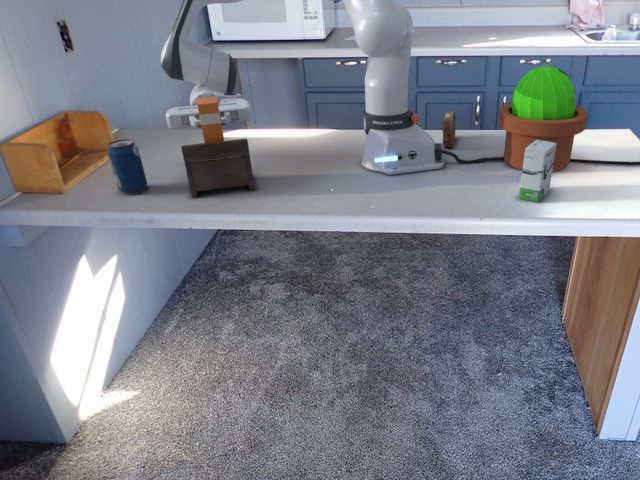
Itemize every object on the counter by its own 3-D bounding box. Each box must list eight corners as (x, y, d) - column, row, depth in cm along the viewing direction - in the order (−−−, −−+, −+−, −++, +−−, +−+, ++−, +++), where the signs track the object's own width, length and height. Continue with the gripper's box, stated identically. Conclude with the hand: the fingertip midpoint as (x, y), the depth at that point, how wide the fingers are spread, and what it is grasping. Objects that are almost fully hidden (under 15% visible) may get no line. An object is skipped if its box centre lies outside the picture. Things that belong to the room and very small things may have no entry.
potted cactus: (490, 172, 142) (499, 70, 129) (499, 146, 160) (508, 55, 146) (578, 179, 136) (598, 74, 123) (578, 151, 154) (594, 57, 141)
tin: (451, 151, 157) (452, 121, 152) (440, 150, 158) (441, 121, 153) (455, 135, 169) (457, 108, 165) (445, 135, 170) (446, 107, 166)
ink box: (538, 203, 124) (545, 152, 118) (517, 198, 127) (523, 148, 120) (550, 190, 131) (557, 141, 124) (530, 186, 133) (536, 138, 127)
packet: (224, 142, 135) (216, 96, 130) (225, 149, 130) (217, 102, 125) (205, 144, 134) (196, 98, 128) (206, 151, 129) (197, 104, 124)
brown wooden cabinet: (250, 176, 143) (243, 128, 136) (255, 189, 135) (247, 139, 128) (191, 183, 139) (181, 135, 133) (192, 198, 131) (181, 147, 125)
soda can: (153, 185, 139) (142, 139, 132) (138, 196, 133) (125, 147, 127) (129, 184, 140) (116, 137, 134) (113, 194, 134) (98, 146, 128)
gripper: (163, 100, 136) (161, 113, 124) (246, 93, 140) (252, 105, 129) (168, 125, 139) (168, 141, 128) (250, 117, 144) (256, 131, 133)
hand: (211, 123), depth 128 cm, fingers closed on packet, 5 cm apart
